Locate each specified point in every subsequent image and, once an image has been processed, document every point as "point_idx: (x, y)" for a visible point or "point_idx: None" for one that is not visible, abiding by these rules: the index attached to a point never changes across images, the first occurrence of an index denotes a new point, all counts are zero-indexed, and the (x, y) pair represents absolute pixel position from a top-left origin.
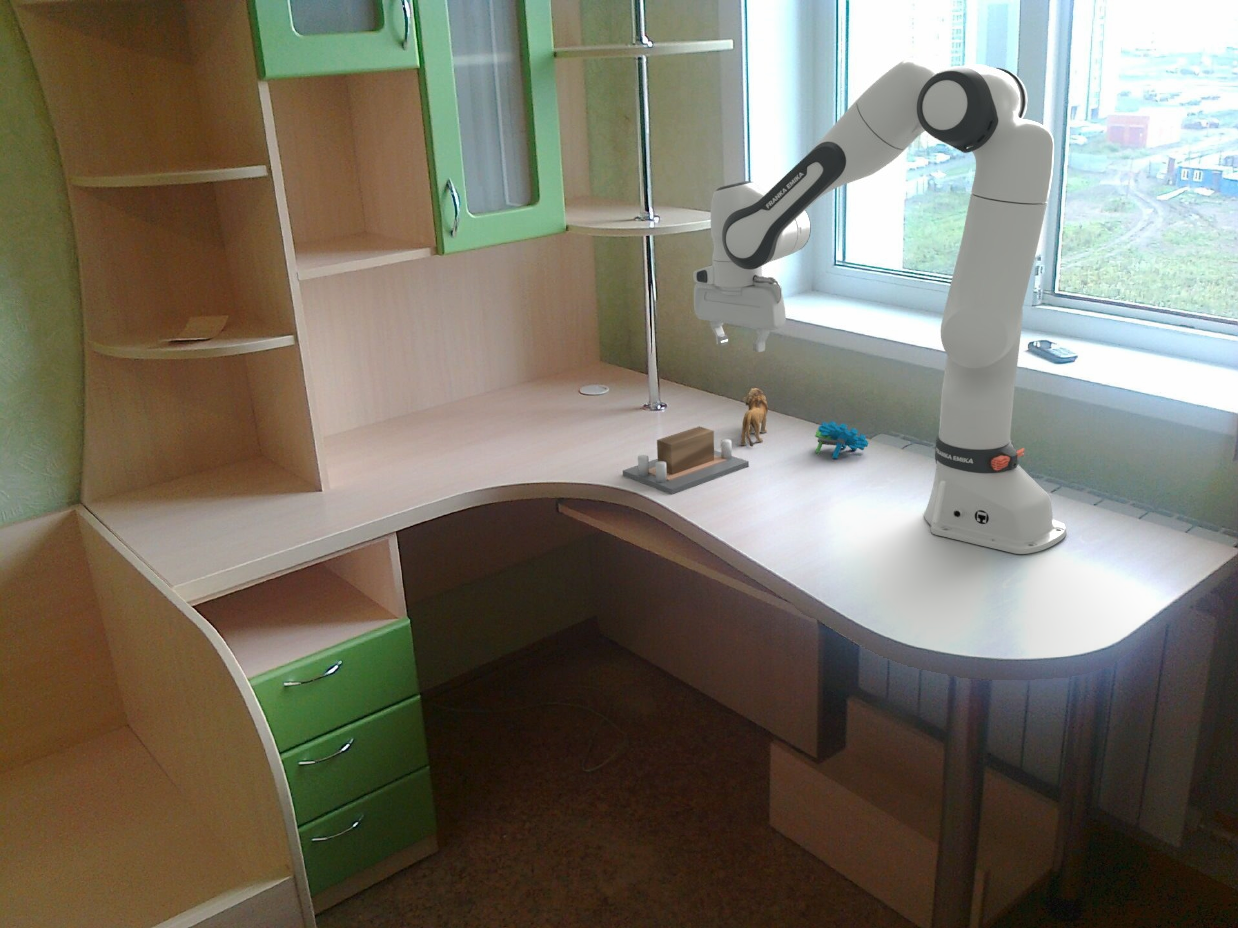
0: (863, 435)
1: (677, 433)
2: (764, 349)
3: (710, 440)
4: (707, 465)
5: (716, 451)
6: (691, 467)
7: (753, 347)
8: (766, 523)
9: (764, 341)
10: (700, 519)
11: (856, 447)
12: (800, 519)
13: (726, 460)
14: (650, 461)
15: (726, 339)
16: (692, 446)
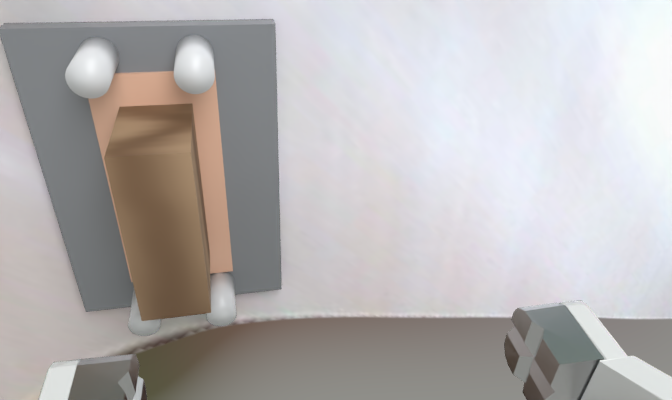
0: None
1: (127, 252)
2: (581, 307)
3: (193, 151)
4: (217, 146)
5: (112, 30)
6: (202, 191)
7: (522, 378)
8: (532, 231)
9: (623, 358)
10: (418, 301)
11: None
12: (582, 174)
13: (215, 69)
14: (64, 234)
15: (120, 394)
16: (202, 224)
